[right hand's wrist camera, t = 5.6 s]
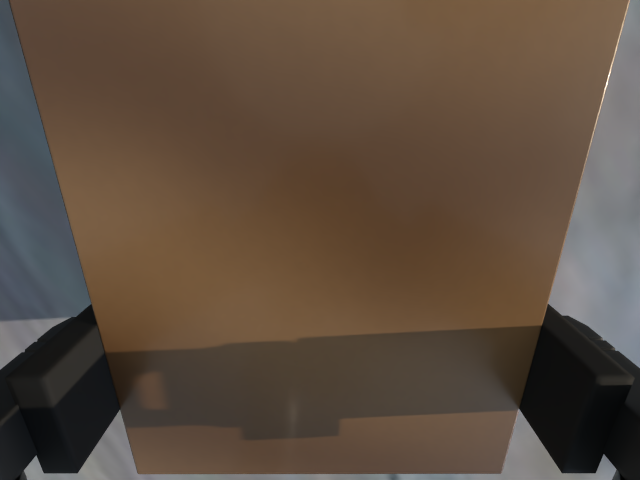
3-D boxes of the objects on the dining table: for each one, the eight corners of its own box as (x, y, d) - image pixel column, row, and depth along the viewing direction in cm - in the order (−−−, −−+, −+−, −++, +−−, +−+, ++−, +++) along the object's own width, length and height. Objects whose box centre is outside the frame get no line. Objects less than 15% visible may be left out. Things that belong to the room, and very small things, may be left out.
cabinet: (168, -191, 12) (-300, -1120, 3) (470, -191, 12) (935, -1116, 3) (224, 300, 20) (137, 475, 10) (415, 300, 20) (502, 474, 10)
